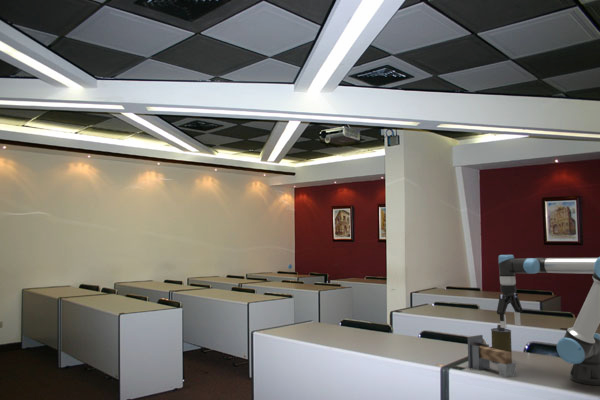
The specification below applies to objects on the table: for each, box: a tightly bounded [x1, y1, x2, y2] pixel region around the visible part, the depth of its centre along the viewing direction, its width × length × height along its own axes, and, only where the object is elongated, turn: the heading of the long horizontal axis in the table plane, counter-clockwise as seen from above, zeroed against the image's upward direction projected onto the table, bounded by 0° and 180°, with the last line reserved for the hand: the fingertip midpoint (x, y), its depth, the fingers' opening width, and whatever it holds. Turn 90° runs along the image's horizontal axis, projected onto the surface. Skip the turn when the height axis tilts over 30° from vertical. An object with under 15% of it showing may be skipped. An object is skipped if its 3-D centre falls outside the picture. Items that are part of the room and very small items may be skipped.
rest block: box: [498, 361, 517, 378], centre depth 230 cm, size 4×8×6 cm, turn 123°
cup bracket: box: [467, 334, 491, 371], centre depth 244 cm, size 6×11×16 cm, turn 123°
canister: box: [490, 324, 513, 364], centre depth 258 cm, size 11×10×20 cm
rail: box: [480, 346, 513, 364], centre depth 237 cm, size 18×5×5 cm, turn 33°
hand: (510, 326), depth 239 cm, fingers open, 13 cm apart
